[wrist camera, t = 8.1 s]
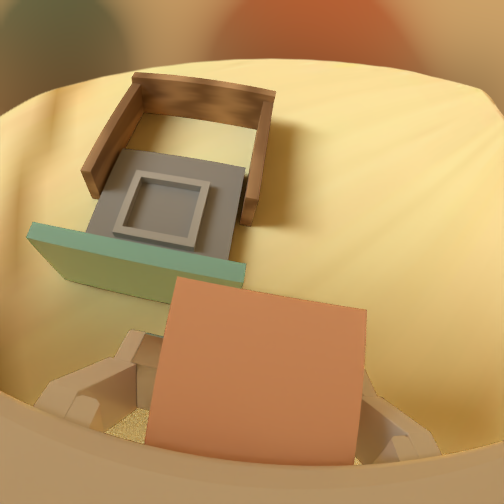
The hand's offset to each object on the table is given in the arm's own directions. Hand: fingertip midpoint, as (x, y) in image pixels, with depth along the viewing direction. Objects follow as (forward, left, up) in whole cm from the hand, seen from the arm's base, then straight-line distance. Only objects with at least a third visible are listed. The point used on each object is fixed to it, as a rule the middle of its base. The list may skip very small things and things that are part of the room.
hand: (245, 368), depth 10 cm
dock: (-8, +24, -19) cm, 32 cm away
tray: (-8, +15, -19) cm, 25 cm away
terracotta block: (0, -1, -5) cm, 5 cm away
